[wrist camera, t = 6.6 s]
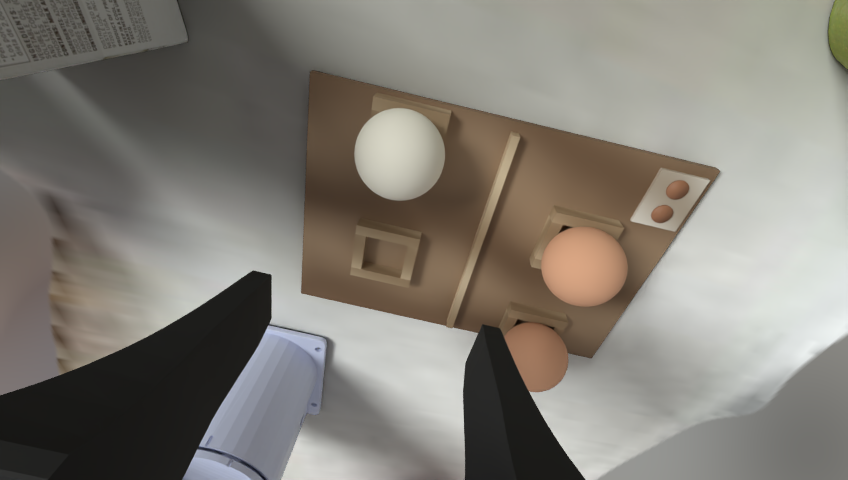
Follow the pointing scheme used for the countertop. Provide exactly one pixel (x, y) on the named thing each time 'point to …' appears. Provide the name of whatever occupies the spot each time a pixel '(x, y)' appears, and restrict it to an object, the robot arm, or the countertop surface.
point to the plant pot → (839, 31)
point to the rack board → (481, 216)
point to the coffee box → (82, 32)
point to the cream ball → (399, 154)
